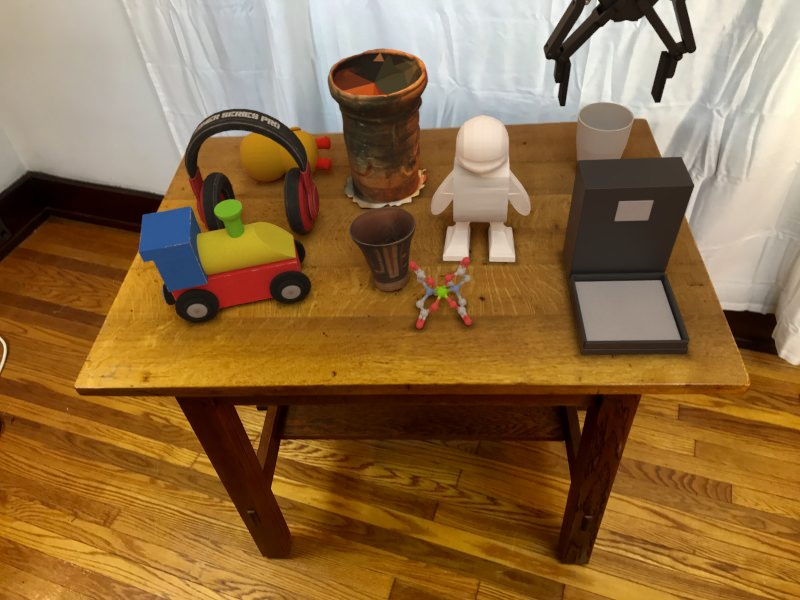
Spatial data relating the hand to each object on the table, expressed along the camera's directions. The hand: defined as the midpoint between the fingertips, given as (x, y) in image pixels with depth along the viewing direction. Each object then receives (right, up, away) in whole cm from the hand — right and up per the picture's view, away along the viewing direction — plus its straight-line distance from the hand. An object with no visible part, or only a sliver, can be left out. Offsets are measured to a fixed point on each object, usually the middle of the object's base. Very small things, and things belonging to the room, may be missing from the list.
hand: (608, 100), depth 92 cm
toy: (-49, -8, +15) cm, 52 cm away
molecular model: (-25, -31, -9) cm, 41 cm away
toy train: (-53, -29, -4) cm, 61 cm away
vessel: (-33, -11, +11) cm, 36 cm away
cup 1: (-32, -26, -4) cm, 42 cm away
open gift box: (-2, -30, -10) cm, 31 cm away
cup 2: (+1, -9, +9) cm, 13 cm away
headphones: (-52, -19, +5) cm, 55 cm away
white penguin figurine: (-19, -21, 0) cm, 28 cm away
